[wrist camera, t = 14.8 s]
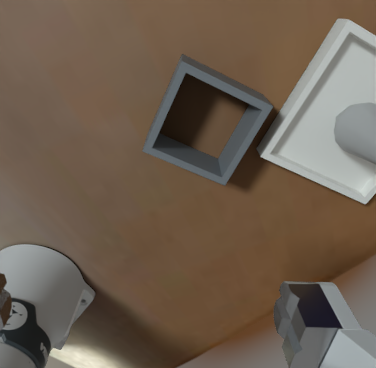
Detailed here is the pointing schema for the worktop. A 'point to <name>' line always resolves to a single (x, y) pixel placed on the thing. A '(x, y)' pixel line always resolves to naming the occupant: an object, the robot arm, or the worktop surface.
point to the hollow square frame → (238, 141)
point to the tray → (327, 114)
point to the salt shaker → (357, 130)
